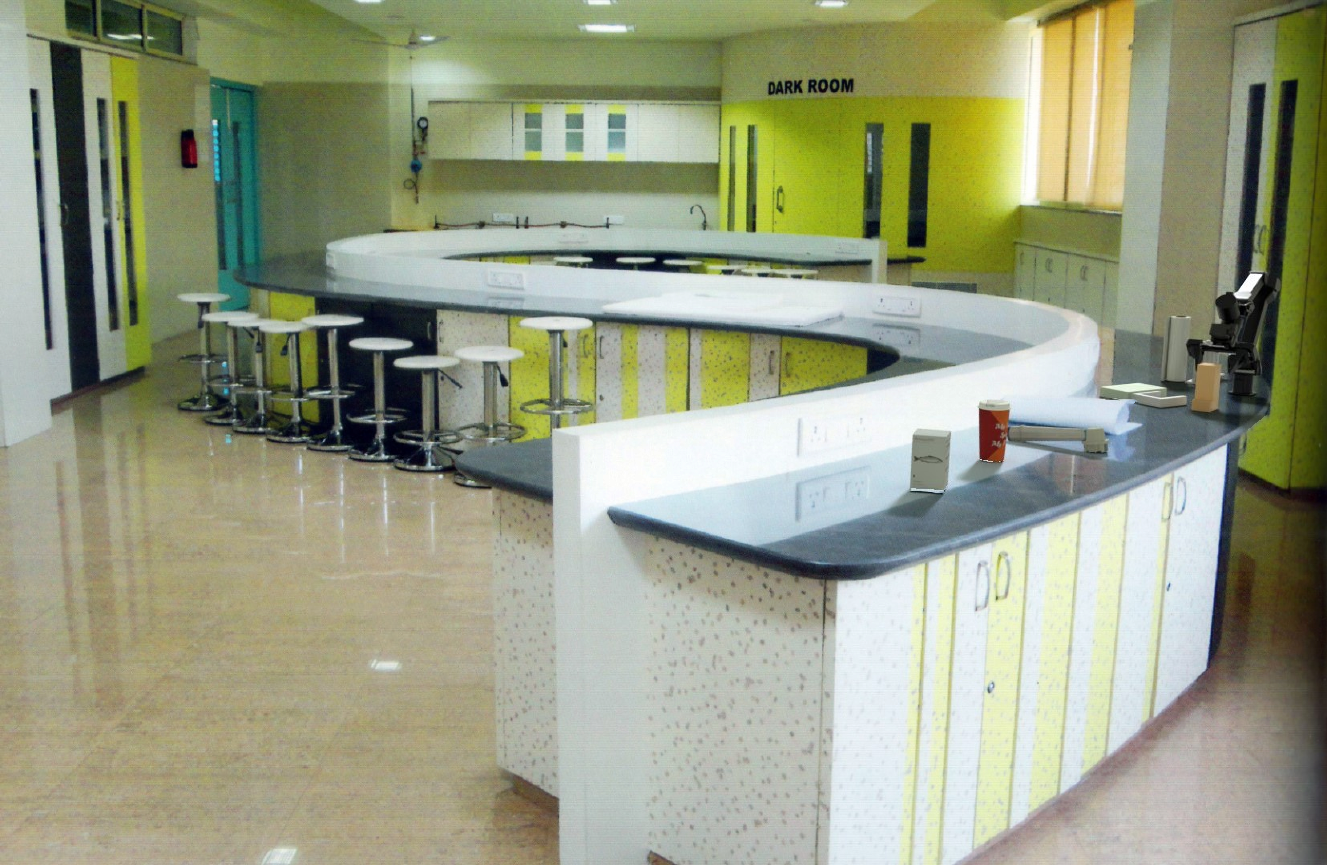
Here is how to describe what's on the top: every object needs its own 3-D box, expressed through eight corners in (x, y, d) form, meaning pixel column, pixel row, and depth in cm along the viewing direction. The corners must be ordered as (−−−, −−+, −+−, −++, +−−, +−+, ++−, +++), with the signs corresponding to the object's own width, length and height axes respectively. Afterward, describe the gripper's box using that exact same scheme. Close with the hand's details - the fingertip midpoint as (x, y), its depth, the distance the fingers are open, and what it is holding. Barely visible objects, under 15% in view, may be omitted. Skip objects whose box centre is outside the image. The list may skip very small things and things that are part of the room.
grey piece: (1013, 423, 306) (1111, 422, 289) (1015, 449, 306) (1113, 449, 290) (1004, 426, 302) (1103, 425, 285) (1007, 452, 302) (1105, 452, 286)
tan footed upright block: (1199, 406, 348) (1203, 362, 345) (1217, 408, 344) (1221, 364, 342) (1191, 410, 343) (1195, 365, 340) (1209, 412, 339) (1213, 367, 337)
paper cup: (1003, 465, 276) (1006, 406, 274) (970, 461, 280) (973, 402, 278) (1012, 458, 283) (1015, 400, 280) (980, 455, 287) (983, 397, 284)
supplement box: (908, 492, 253) (911, 434, 250) (914, 484, 260) (916, 427, 257) (944, 495, 250) (946, 436, 248) (949, 486, 257) (951, 429, 254)
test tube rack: (1198, 385, 386) (1202, 344, 383) (1184, 383, 389) (1188, 343, 386) (1224, 376, 404) (1228, 337, 401) (1211, 374, 407) (1214, 336, 404)
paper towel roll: (1187, 380, 395) (1192, 315, 390) (1184, 382, 390) (1189, 317, 385) (1164, 378, 398) (1169, 314, 394) (1160, 381, 393) (1165, 316, 389)
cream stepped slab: (1137, 392, 372) (1138, 382, 371) (1195, 403, 353) (1196, 393, 352) (1099, 396, 365) (1100, 386, 365) (1156, 408, 346) (1157, 397, 345)
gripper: (1190, 311, 351) (1174, 351, 345) (1258, 315, 339) (1242, 357, 333) (1197, 335, 358) (1181, 375, 353) (1264, 340, 346) (1248, 382, 340)
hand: (1212, 372), depth 344 cm, fingers open, 9 cm apart
